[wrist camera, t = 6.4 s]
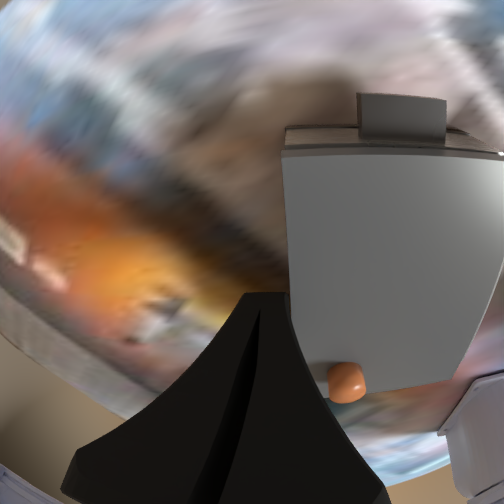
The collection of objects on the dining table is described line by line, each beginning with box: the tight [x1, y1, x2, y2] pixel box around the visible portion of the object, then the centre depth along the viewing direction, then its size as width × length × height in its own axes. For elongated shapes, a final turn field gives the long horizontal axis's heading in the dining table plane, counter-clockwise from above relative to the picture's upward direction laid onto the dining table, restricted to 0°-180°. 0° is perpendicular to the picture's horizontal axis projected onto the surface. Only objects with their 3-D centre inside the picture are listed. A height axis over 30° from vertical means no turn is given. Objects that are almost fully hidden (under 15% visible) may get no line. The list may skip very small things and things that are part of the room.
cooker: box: [285, 93, 504, 155], centre depth 12 cm, size 13×8×3 cm, turn 6°
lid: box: [281, 147, 504, 403], centre depth 9 cm, size 10×8×2 cm
